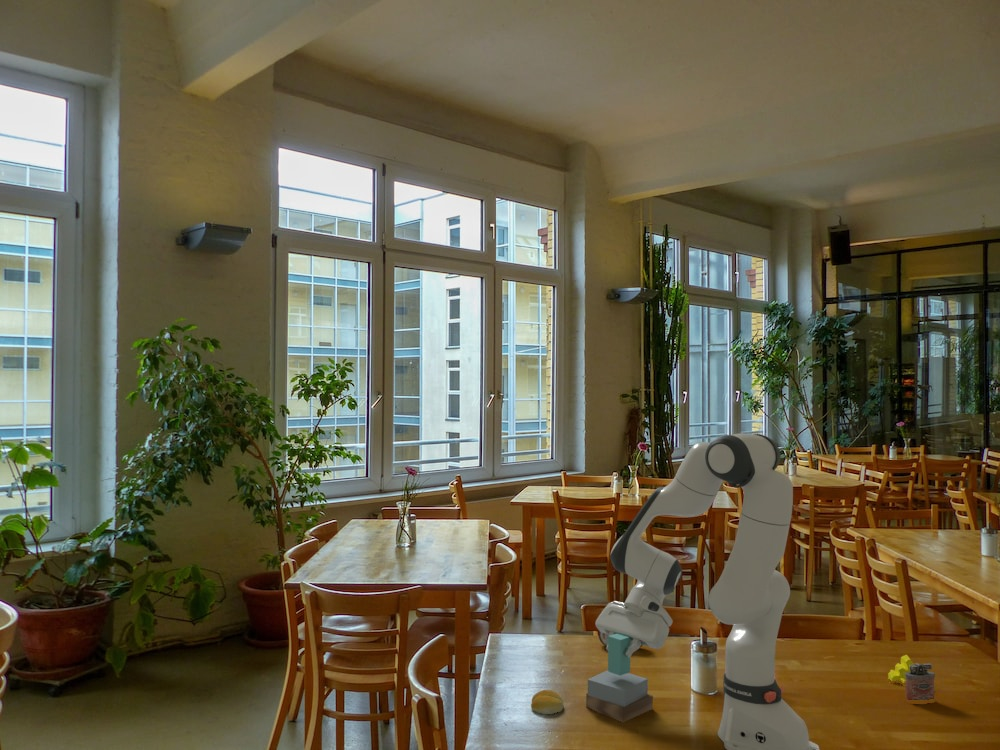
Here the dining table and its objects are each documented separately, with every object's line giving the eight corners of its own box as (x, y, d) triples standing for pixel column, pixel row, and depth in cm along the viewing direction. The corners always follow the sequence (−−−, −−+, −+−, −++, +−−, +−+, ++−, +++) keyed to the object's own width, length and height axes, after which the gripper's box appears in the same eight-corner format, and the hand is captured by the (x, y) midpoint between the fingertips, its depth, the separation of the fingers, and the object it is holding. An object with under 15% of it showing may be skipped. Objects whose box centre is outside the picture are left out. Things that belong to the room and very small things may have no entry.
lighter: (910, 705, 203) (910, 666, 203) (901, 700, 206) (902, 662, 207) (938, 703, 204) (938, 665, 205) (929, 698, 208) (929, 661, 208)
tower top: (647, 694, 200) (647, 678, 200) (624, 707, 191) (624, 690, 191) (611, 683, 207) (611, 668, 207) (587, 695, 199) (587, 679, 199)
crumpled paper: (883, 678, 222) (883, 651, 222) (909, 677, 223) (909, 650, 223) (896, 686, 216) (896, 658, 216) (922, 685, 217) (922, 657, 217)
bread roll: (530, 715, 195) (530, 699, 195) (532, 701, 204) (532, 685, 204) (563, 716, 194) (563, 700, 194) (563, 702, 203) (563, 687, 203)
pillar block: (630, 671, 199) (630, 636, 199) (620, 675, 196) (620, 640, 196) (617, 667, 202) (618, 632, 202) (608, 671, 199) (608, 636, 199)
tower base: (652, 711, 199) (652, 695, 199) (622, 724, 191) (623, 708, 191) (615, 697, 208) (616, 682, 208) (586, 709, 200) (586, 693, 200)
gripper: (605, 592, 211) (581, 636, 205) (668, 609, 196) (644, 656, 190) (615, 606, 214) (592, 649, 208) (678, 623, 199) (655, 670, 193)
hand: (617, 653), depth 198 cm, fingers closed on pillar block, 4 cm apart
